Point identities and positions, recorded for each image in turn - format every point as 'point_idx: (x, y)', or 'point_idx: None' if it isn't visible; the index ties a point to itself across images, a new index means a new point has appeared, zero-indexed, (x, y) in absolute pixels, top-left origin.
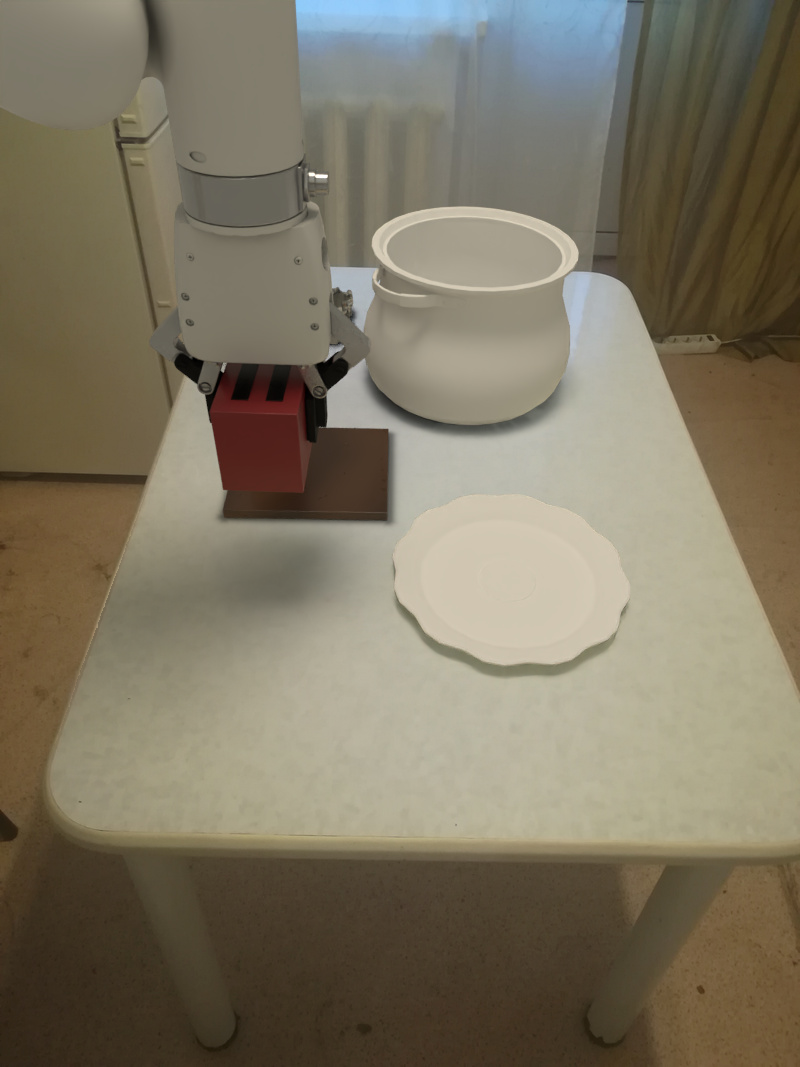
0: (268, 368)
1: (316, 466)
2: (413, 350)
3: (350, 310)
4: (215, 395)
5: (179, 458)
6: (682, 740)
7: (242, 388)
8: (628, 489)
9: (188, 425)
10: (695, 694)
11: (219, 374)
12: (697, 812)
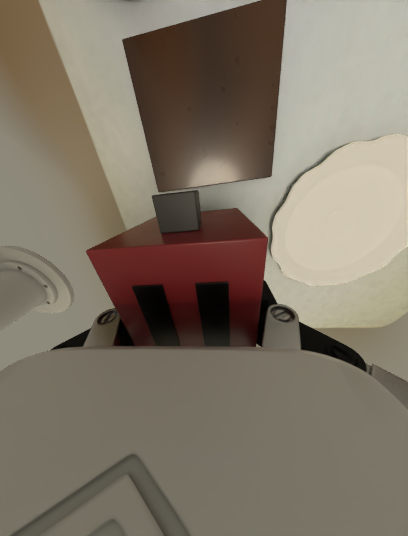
0: (193, 333)
1: (211, 115)
2: None
3: None
4: None
5: (95, 117)
6: (375, 300)
7: None
8: None
9: (67, 43)
10: (399, 283)
11: (127, 333)
12: (361, 320)
